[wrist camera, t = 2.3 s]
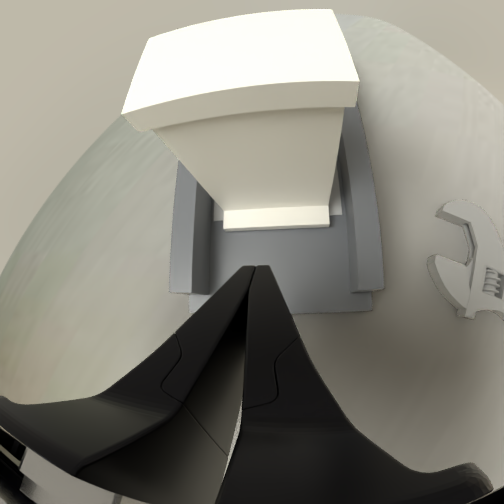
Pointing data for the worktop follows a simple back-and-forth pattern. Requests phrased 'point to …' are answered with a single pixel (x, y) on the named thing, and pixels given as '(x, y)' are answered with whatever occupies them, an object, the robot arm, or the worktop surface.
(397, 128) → the worktop surface
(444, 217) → the adjustable wrench
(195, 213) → the switch housing
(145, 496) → the robot arm
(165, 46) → the switch tab
